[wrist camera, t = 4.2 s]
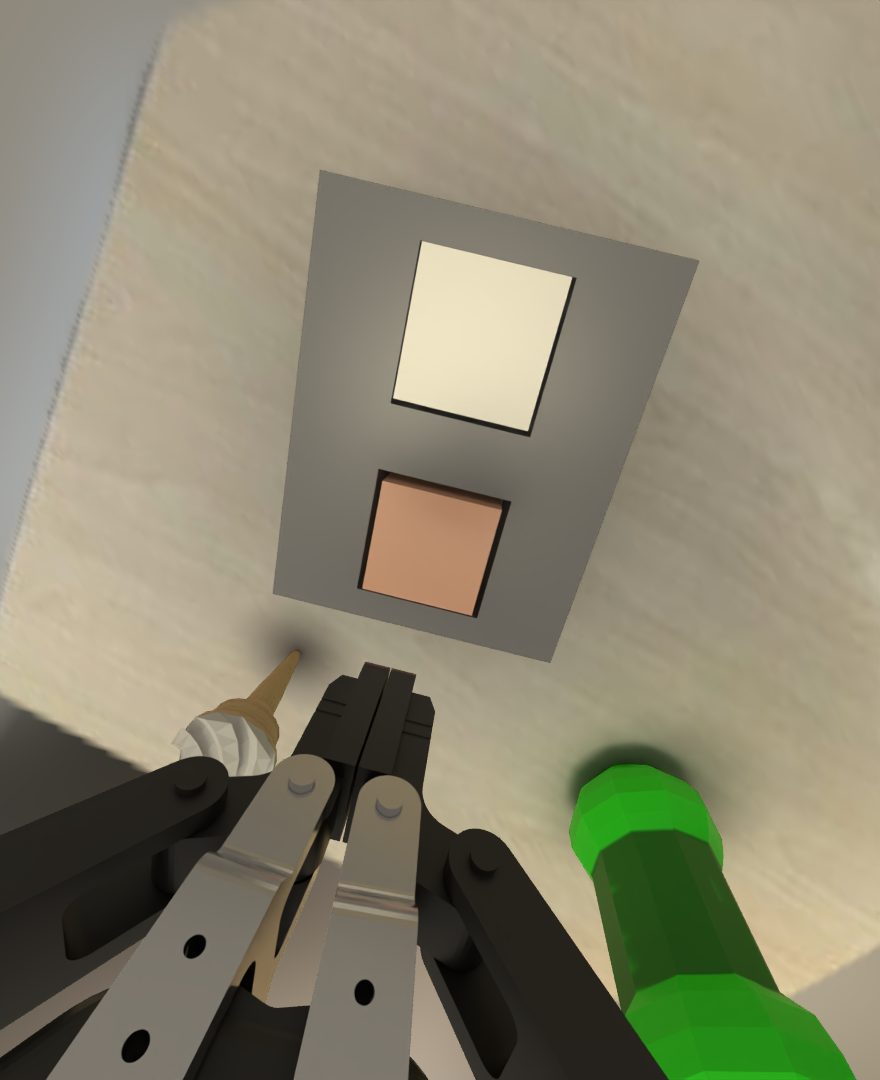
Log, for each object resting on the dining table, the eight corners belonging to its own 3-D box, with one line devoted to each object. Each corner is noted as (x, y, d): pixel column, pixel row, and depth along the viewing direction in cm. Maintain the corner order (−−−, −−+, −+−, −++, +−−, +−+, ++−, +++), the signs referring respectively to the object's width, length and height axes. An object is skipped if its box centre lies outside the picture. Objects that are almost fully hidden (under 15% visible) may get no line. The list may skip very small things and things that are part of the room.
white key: (560, 291, 21) (572, 277, 18) (522, 424, 23) (527, 431, 20) (430, 259, 21) (422, 240, 18) (404, 396, 23) (393, 398, 20)
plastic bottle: (725, 791, 35) (1231, 1656, 11) (616, 856, 38) (831, 1634, 14) (638, 712, 33) (1013, 1528, 10) (531, 787, 36) (617, 1536, 13)
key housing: (649, 288, 24) (699, 260, 19) (538, 611, 31) (550, 662, 25) (357, 218, 24) (320, 169, 19) (310, 555, 31) (272, 593, 26)
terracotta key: (499, 495, 25) (502, 510, 22) (473, 591, 27) (471, 615, 24) (393, 469, 25) (382, 480, 22) (374, 566, 27) (362, 588, 24)
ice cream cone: (257, 672, 35) (104, 870, 21) (265, 609, 33) (102, 781, 19) (327, 691, 35) (222, 901, 21) (339, 629, 33) (232, 815, 19)
